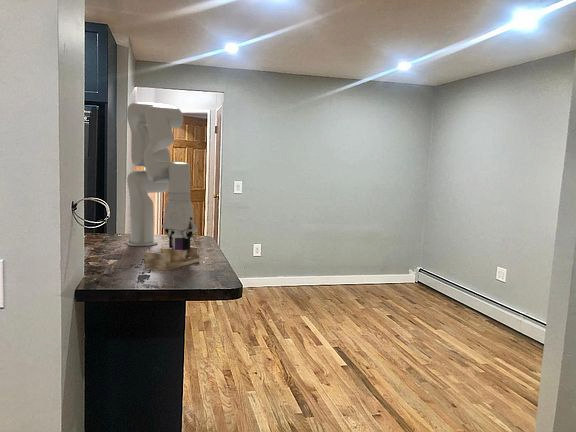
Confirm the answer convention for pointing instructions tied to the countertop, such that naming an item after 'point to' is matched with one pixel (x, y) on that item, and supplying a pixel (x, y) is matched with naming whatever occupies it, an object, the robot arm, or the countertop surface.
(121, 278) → the countertop surface
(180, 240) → the pill bottle
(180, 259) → the rack
